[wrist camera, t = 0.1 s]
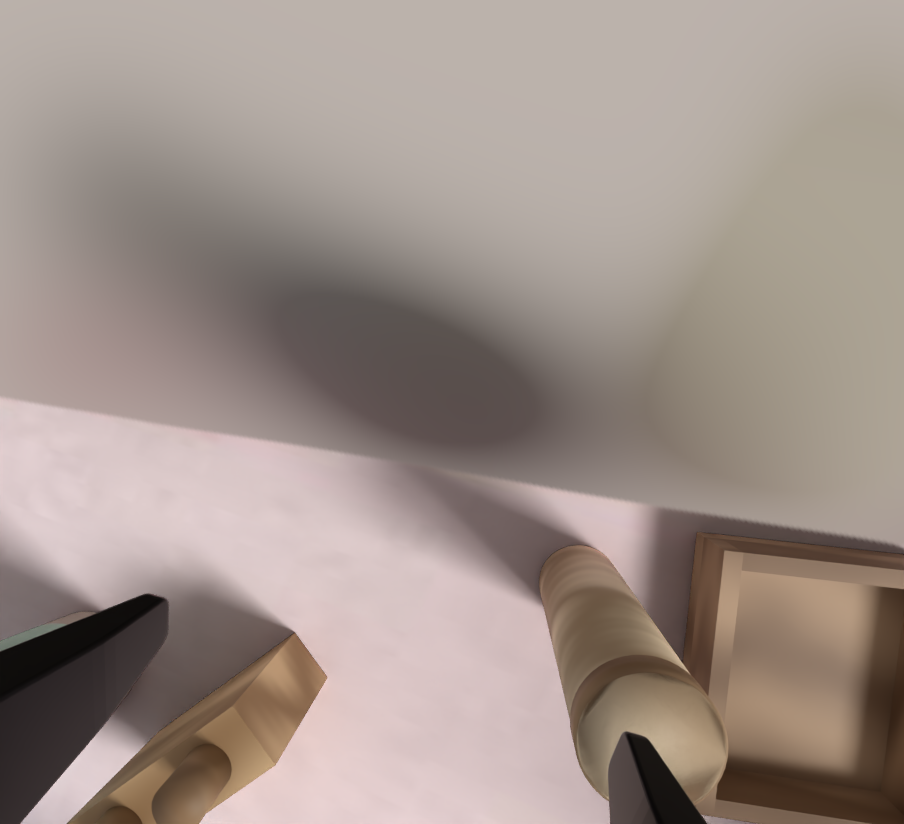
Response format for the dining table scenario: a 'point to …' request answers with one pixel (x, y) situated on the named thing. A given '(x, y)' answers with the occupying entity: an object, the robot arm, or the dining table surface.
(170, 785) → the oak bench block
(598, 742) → the beech dowel
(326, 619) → the dining table surface
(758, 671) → the walnut tray
